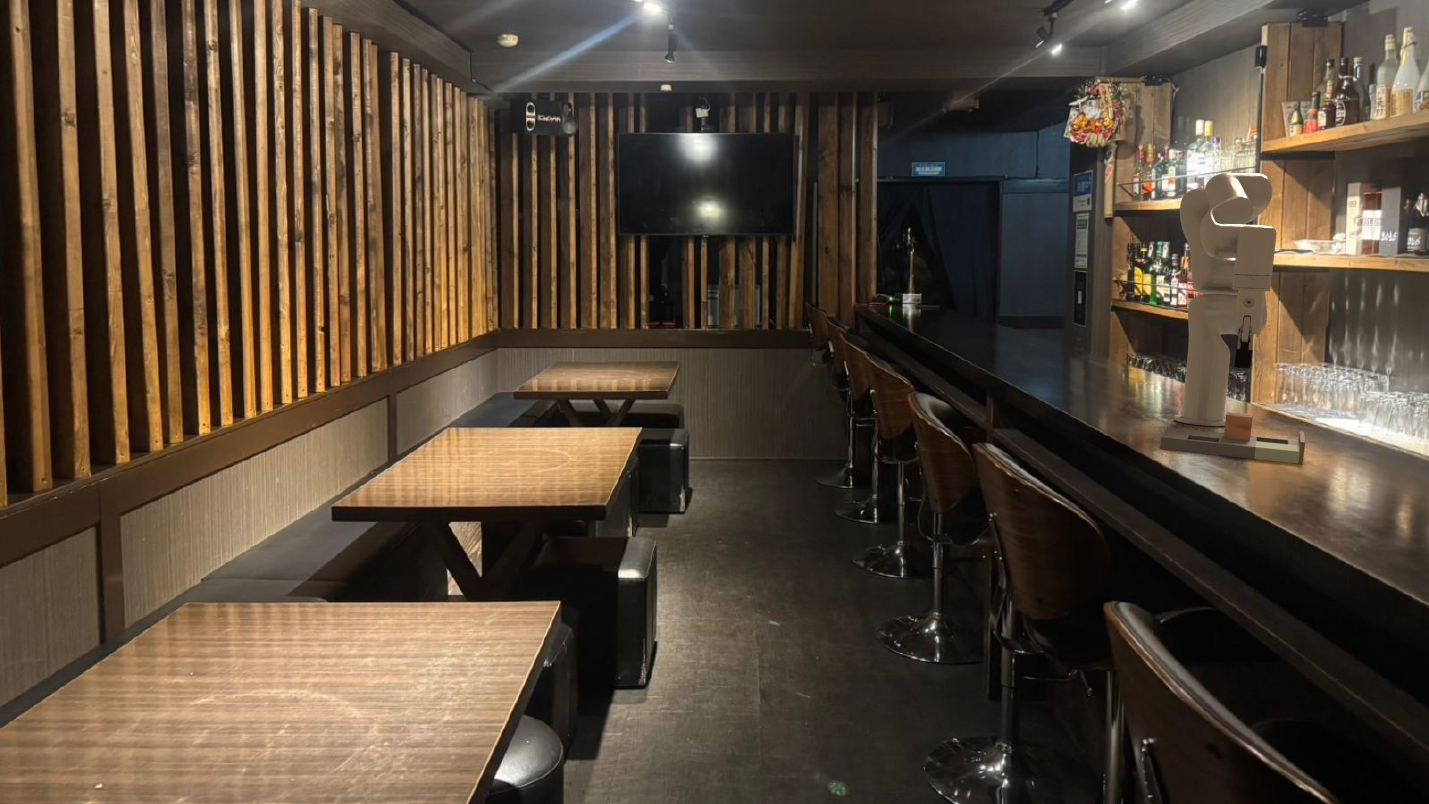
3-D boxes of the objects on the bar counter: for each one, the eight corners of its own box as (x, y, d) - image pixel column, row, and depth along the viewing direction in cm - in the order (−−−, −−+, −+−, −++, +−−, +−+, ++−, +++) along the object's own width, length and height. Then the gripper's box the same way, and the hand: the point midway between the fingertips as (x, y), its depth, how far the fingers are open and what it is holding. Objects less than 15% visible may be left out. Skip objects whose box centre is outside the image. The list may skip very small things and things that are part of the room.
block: (1225, 434, 240) (1227, 411, 239) (1250, 437, 238) (1253, 414, 237) (1223, 438, 236) (1226, 414, 235) (1249, 440, 234) (1252, 417, 233)
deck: (1166, 438, 248) (1168, 418, 247) (1301, 452, 236) (1303, 431, 235) (1159, 448, 234) (1161, 427, 234) (1302, 464, 223) (1305, 442, 222)
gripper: (1270, 285, 231) (1260, 372, 234) (1271, 283, 245) (1262, 365, 247) (1230, 283, 235) (1221, 369, 238) (1234, 281, 248) (1225, 363, 251)
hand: (1242, 367), depth 243 cm, fingers closed
